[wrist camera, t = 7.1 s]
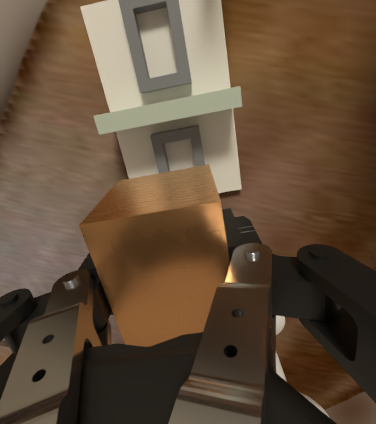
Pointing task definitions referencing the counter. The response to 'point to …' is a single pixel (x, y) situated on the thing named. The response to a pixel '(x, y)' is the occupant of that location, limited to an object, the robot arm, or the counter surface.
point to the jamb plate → (166, 85)
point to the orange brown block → (159, 252)
